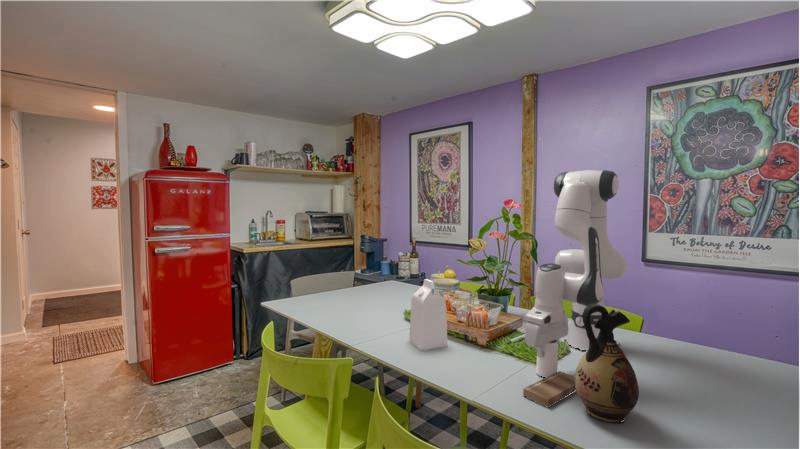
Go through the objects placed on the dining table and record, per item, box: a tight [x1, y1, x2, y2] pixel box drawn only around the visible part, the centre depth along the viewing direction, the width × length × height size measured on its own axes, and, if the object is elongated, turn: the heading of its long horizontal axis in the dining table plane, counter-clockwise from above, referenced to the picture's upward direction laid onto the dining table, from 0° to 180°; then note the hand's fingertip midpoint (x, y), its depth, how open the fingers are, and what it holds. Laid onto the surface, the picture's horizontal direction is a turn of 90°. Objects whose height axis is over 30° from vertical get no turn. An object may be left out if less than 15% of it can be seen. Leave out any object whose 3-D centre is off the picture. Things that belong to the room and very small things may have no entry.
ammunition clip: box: [463, 312, 490, 344], centre depth 155 cm, size 11×2×12 cm, turn 55°
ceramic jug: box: [574, 304, 640, 423], centre depth 103 cm, size 17×15×30 cm
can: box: [535, 340, 559, 378], centre depth 127 cm, size 6×6×12 cm
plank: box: [522, 370, 576, 408], centre depth 116 cm, size 20×8×2 cm, turn 127°
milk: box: [408, 278, 448, 351], centre depth 154 cm, size 12×12×26 cm
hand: (547, 353), depth 127 cm, fingers closed on can, 6 cm apart
